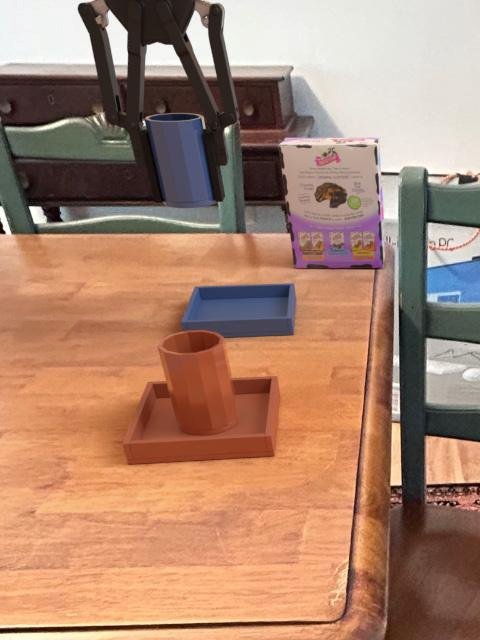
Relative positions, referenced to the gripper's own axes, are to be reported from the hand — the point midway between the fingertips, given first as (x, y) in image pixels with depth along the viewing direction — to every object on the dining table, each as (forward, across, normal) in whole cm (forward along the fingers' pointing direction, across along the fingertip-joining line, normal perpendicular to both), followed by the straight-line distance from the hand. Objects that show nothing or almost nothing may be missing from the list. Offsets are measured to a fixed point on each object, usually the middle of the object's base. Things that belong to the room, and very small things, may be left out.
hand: (190, 199), depth 82 cm
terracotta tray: (+15, +2, -25) cm, 29 cm away
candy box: (+15, +16, +27) cm, 35 cm away
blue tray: (+15, +3, +5) cm, 16 cm away
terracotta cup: (+14, +2, -25) cm, 29 cm away
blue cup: (0, 0, 0) cm, 0 cm away
